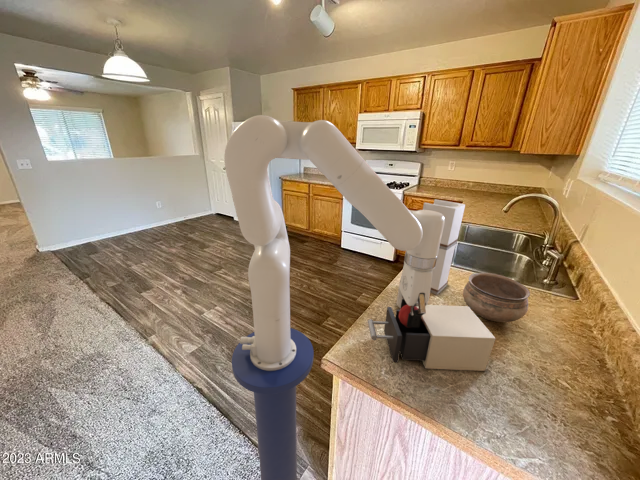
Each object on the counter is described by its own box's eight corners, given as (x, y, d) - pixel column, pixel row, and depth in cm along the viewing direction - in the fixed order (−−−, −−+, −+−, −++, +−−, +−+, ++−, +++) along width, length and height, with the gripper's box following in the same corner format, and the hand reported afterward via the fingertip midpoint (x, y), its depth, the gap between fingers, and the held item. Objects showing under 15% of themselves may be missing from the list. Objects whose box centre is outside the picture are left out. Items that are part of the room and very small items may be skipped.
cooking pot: (514, 347, 78) (527, 313, 74) (448, 318, 90) (456, 287, 86) (526, 311, 96) (537, 282, 91) (470, 291, 108) (477, 264, 103)
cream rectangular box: (425, 368, 70) (432, 335, 66) (410, 333, 83) (415, 304, 79) (485, 371, 70) (495, 338, 66) (460, 335, 83) (468, 306, 79)
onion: (403, 317, 78) (407, 294, 75) (422, 327, 74) (427, 303, 71) (393, 326, 74) (397, 302, 71) (412, 337, 70) (417, 312, 67)
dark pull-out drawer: (370, 361, 71) (374, 334, 68) (364, 330, 82) (367, 306, 79) (448, 364, 70) (455, 338, 67) (430, 332, 82) (436, 308, 79)
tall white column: (447, 285, 112) (465, 204, 99) (437, 294, 105) (455, 208, 92) (421, 275, 119) (435, 199, 107) (410, 284, 112) (423, 203, 100)
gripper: (396, 246, 75) (388, 300, 81) (415, 275, 59) (404, 340, 65) (423, 247, 75) (413, 301, 81) (449, 276, 59) (434, 341, 65)
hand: (409, 318), depth 73 cm, fingers closed on onion, 5 cm apart
